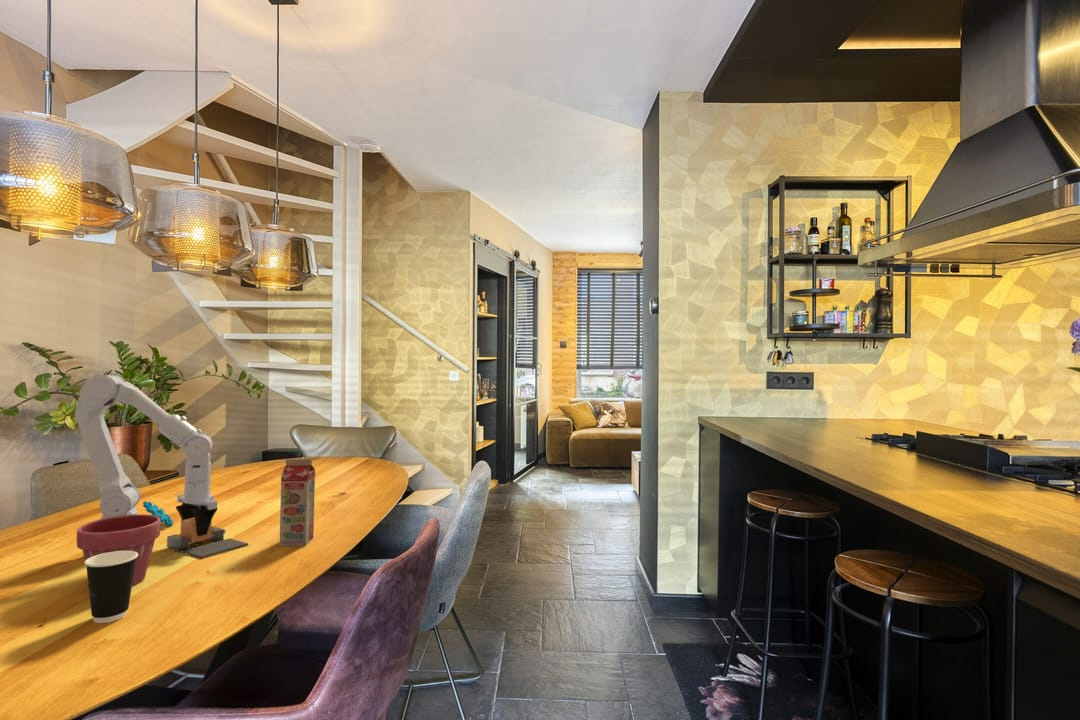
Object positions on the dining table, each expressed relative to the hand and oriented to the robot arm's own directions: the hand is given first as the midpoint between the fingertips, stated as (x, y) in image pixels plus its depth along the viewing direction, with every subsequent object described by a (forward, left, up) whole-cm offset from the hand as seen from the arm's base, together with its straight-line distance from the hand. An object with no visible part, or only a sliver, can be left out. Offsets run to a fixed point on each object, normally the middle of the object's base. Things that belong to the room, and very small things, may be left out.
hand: (195, 533), depth 145 cm
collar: (0, 0, -2) cm, 2 cm away
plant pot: (-23, -12, -3) cm, 26 cm away
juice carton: (+15, -20, -3) cm, 25 cm away
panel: (+1, -8, -3) cm, 8 cm away
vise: (0, 0, -3) cm, 3 cm away
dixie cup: (-32, -29, -3) cm, 43 cm away
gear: (+4, +25, -3) cm, 26 cm away
